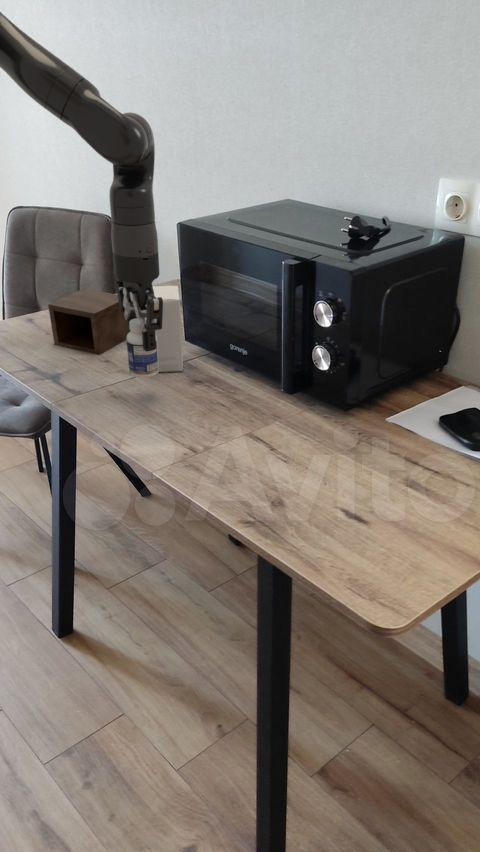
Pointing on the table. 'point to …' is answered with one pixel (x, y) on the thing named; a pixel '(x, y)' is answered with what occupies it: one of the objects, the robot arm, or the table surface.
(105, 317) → the shelf
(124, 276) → the robot arm
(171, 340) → the white product box
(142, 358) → the pill bottle
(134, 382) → the table surface
